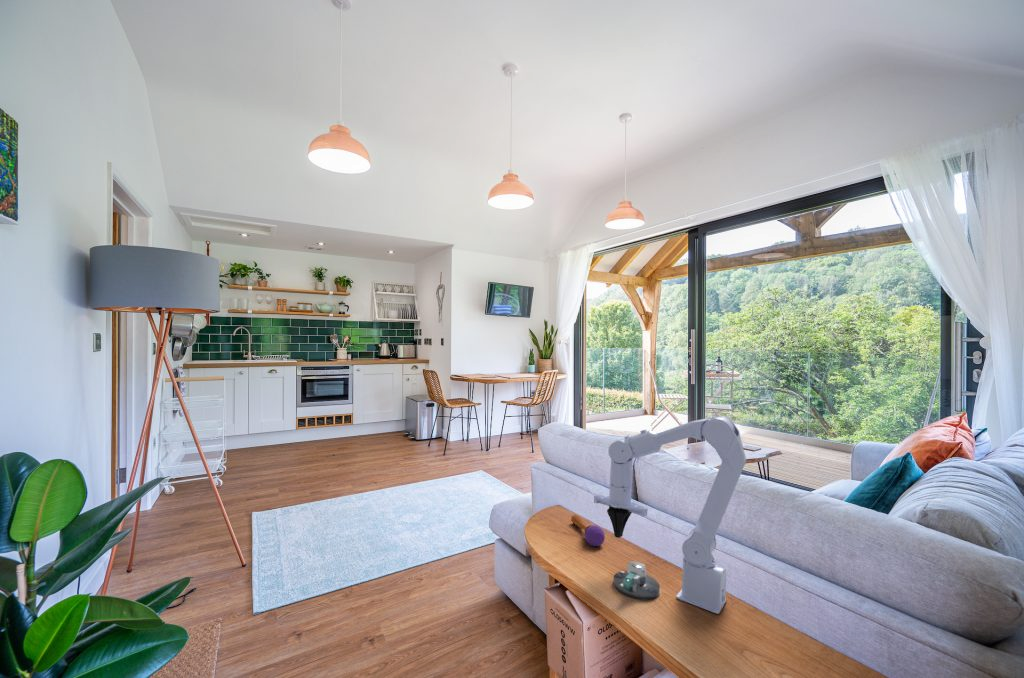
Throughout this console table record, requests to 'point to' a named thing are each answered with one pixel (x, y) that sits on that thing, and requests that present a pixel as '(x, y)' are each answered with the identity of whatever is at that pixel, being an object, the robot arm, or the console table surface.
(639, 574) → the teal ball-top lever
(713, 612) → the robot arm
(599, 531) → the purple maraca
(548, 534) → the console table surface
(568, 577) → the console table surface
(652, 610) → the console table surface
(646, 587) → the post plate
